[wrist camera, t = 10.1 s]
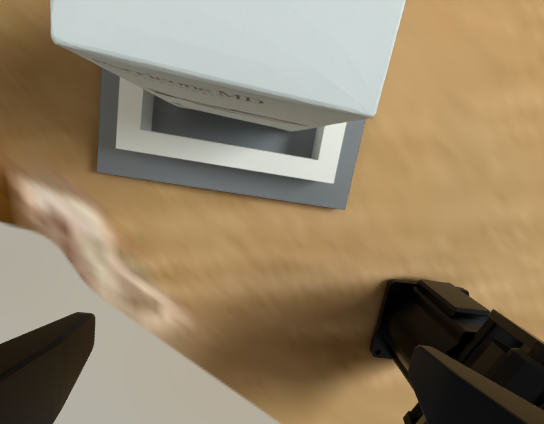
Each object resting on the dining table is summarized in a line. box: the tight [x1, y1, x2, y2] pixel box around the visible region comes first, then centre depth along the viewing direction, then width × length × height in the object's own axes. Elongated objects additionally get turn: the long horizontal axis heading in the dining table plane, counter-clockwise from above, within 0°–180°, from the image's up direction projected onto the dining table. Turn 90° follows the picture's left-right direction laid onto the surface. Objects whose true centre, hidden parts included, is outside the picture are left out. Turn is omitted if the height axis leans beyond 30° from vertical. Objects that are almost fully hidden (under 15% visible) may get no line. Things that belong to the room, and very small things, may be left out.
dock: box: [97, 68, 365, 210], centre depth 17 cm, size 16×16×3 cm
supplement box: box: [50, 0, 406, 132], centre depth 12 cm, size 7×7×13 cm
